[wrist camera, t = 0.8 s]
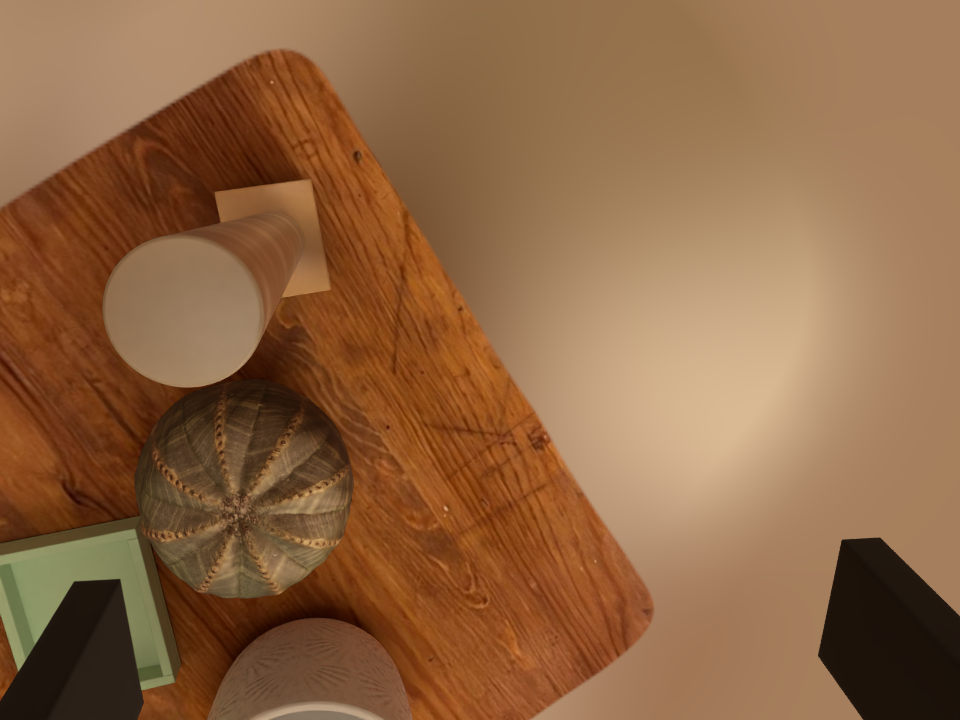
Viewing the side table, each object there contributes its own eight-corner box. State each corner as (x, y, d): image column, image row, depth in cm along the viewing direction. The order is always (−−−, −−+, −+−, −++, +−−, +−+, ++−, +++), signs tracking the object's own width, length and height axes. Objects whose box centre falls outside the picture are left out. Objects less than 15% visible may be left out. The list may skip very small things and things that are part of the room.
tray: (-3, 543, 45) (-18, 559, 44) (143, 514, 47) (135, 528, 45) (43, 695, 48) (31, 715, 46) (181, 664, 49) (175, 682, 47)
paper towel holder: (222, 192, 44) (15, 182, 15) (312, 179, 45) (278, 148, 16) (244, 296, 45) (93, 472, 16) (331, 283, 46) (331, 427, 17)
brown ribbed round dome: (375, 490, 49) (390, 581, 38) (207, 556, 48) (168, 670, 36) (312, 331, 46) (306, 375, 35) (131, 396, 45) (63, 465, 34)
